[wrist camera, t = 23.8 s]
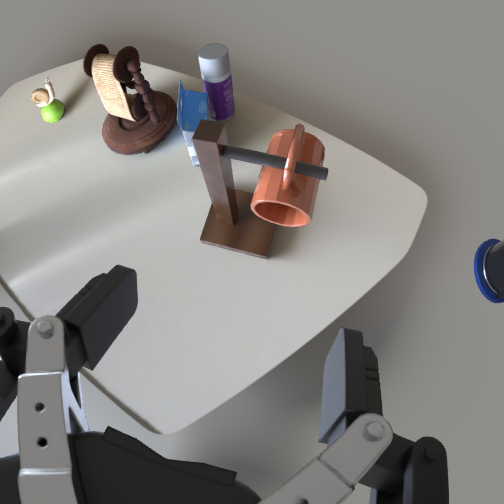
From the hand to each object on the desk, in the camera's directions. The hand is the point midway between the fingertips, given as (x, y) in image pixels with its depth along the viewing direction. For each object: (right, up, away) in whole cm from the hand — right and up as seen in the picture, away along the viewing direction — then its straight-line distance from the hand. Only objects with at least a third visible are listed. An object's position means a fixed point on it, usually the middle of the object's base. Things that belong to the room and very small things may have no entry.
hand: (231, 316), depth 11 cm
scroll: (-20, +26, +42) cm, 53 cm away
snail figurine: (-42, +33, +44) cm, 69 cm away
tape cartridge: (-7, +21, +40) cm, 46 cm away
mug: (+6, +15, +22) cm, 27 cm away
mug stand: (+1, +6, +36) cm, 36 cm away
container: (-5, +28, +42) cm, 51 cm away
